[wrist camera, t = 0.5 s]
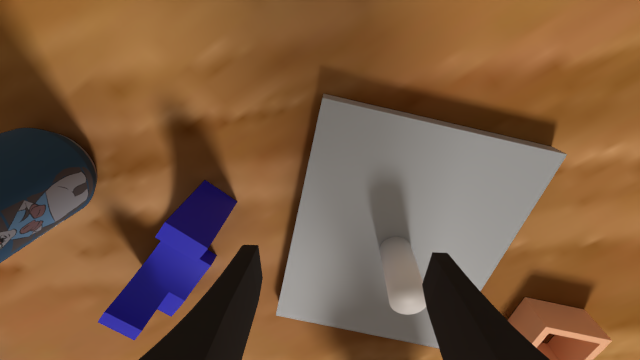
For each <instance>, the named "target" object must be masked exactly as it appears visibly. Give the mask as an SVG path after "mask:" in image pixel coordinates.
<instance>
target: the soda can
mask: <svg viewBox="0 0 640 360" xmlns="http://www.w3.org/2000/svg"><path fill="white" fill-rule="evenodd" d="M96 183H97V171H96V168H95V165H94V163H93V161H92V159H91V158H90V156H89V155H88V153H87V152H86V151H85V150H84V149H83V148H82V147H81V146H80V145H79V144H77V143H76V142H74V141H73V140H71V139H70V138H68V137H66V136H63V135H61V134H57V133H54V132H50V131H46V130H41V129H35V128H19V129H14V130H11V131H7V132H4V133H0V263H1V262H2V261H4V260H5V259H7V258H8V257H10V256H11V255H13V254H14V253H16V252H17V251H19V250H20V249H22V248H23V247H25V246H26V245H28V244H29V243H31V242H32V241H34V240H35V239H37V238H39V237H40V236H42V235H43V234H45V233H46V232H48V231H49V230H51V229H52V228H54V227H55V226H57V225H58V224H60V223H61V222H63V221H64V220H66V219H67V218H69V217H70V216H72V215H73V214H75V213H76V212H78V211H79V210H81V209H82V208H84V207H85V206H86V205H87V204H88V203H89V202H90V200H91V199H92V196H93V194H94V191H95V187H96Z"/></svg>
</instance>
